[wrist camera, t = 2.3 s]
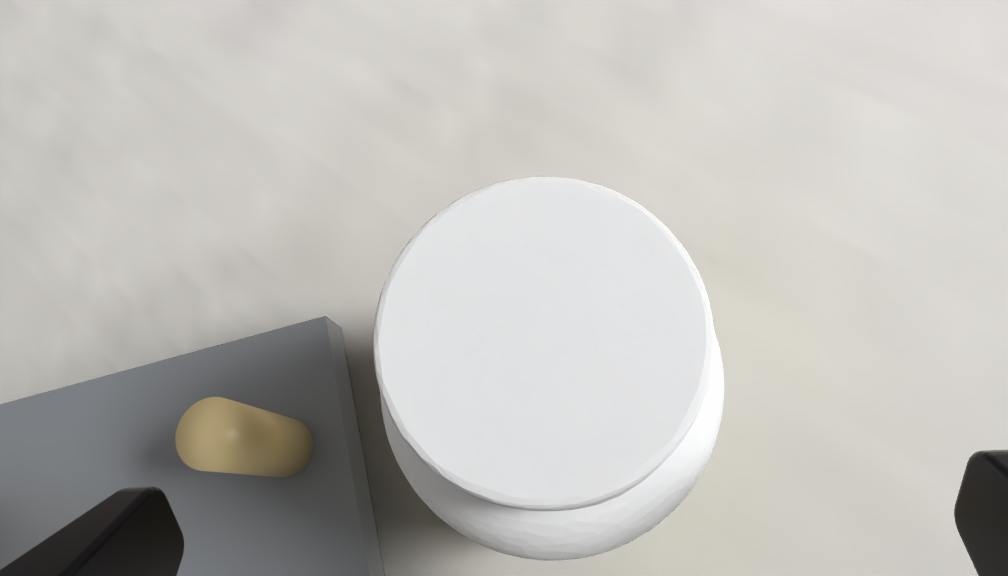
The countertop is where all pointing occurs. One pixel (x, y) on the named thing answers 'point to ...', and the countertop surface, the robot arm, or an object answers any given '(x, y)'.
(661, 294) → the supplement bottle
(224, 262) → the countertop surface
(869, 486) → the countertop surface
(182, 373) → the plate
